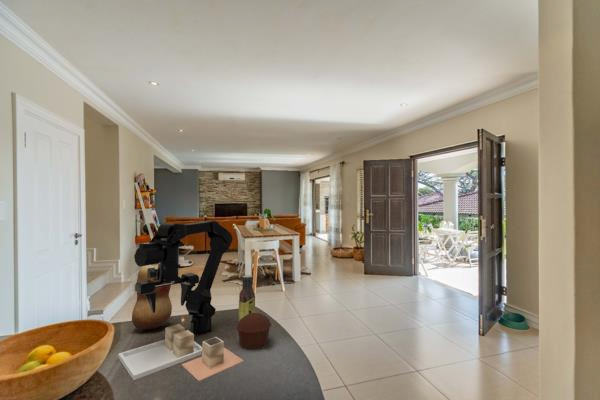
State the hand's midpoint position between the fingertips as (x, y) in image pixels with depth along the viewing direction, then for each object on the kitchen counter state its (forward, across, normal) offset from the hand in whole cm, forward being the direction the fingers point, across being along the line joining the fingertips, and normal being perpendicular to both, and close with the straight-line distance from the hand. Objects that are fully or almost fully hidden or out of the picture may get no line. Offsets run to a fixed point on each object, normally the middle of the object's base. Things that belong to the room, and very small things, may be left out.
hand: (168, 308), depth 93 cm
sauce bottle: (+13, -28, +5) cm, 31 cm away
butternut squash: (+13, -2, -20) cm, 24 cm away
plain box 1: (+12, -2, +1) cm, 13 cm away
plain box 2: (+12, -2, +8) cm, 15 cm away
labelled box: (+12, -5, +20) cm, 24 cm away
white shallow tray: (+13, +3, +4) cm, 14 cm away
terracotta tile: (+13, -5, +20) cm, 24 cm away
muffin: (+13, -21, +18) cm, 31 cm away
